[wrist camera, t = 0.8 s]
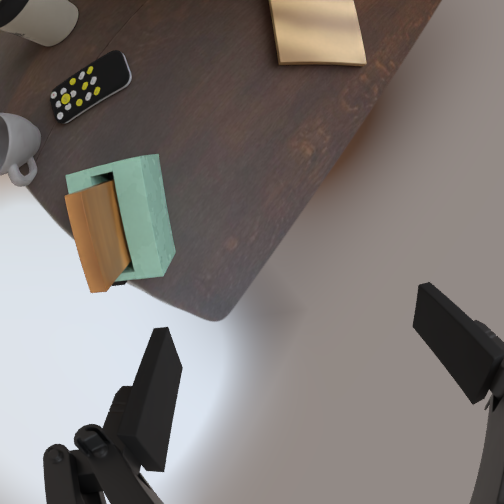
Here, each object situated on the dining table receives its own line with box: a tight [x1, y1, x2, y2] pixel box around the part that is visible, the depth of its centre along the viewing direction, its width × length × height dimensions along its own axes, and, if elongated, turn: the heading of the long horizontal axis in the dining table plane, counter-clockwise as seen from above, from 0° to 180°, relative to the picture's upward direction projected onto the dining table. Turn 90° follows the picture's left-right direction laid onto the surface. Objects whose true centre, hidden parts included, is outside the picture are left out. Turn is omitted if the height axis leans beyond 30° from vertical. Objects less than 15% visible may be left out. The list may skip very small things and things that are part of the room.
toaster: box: [66, 154, 176, 286], centre depth 35 cm, size 10×16×8 cm, turn 6°
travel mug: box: [0, 0, 78, 46], centre depth 19 cm, size 8×8×18 cm
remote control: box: [50, 50, 132, 124], centre depth 31 cm, size 6×13×2 cm, turn 111°
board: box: [269, 0, 366, 66], centre depth 30 cm, size 14×12×2 cm
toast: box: [65, 179, 132, 293], centre depth 30 cm, size 2×10×12 cm, turn 6°
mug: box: [0, 113, 41, 186], centre depth 30 cm, size 12×9×10 cm
